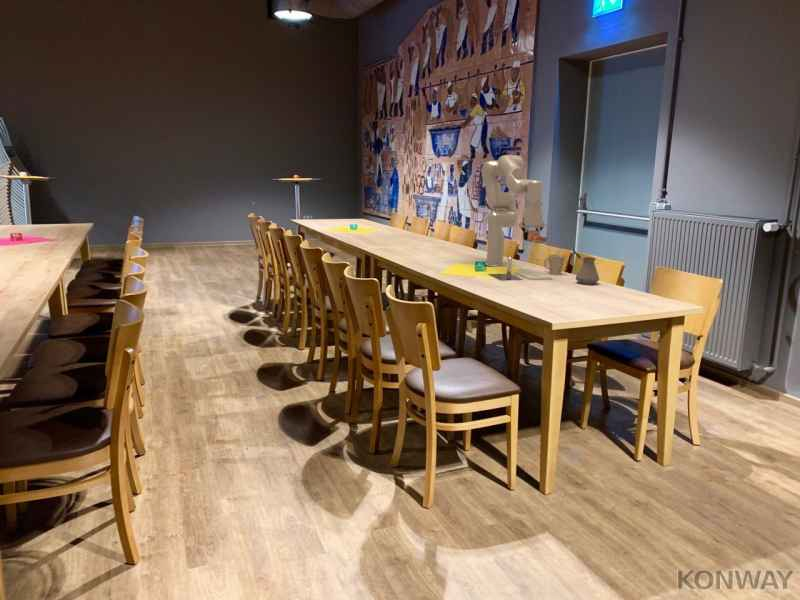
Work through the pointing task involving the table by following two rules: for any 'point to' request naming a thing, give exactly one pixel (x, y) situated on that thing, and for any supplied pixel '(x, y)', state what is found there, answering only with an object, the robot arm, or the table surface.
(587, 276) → the coffee pot
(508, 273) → the stand
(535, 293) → the table surface
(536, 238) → the link
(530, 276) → the board
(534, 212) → the robot arm
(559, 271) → the mug
